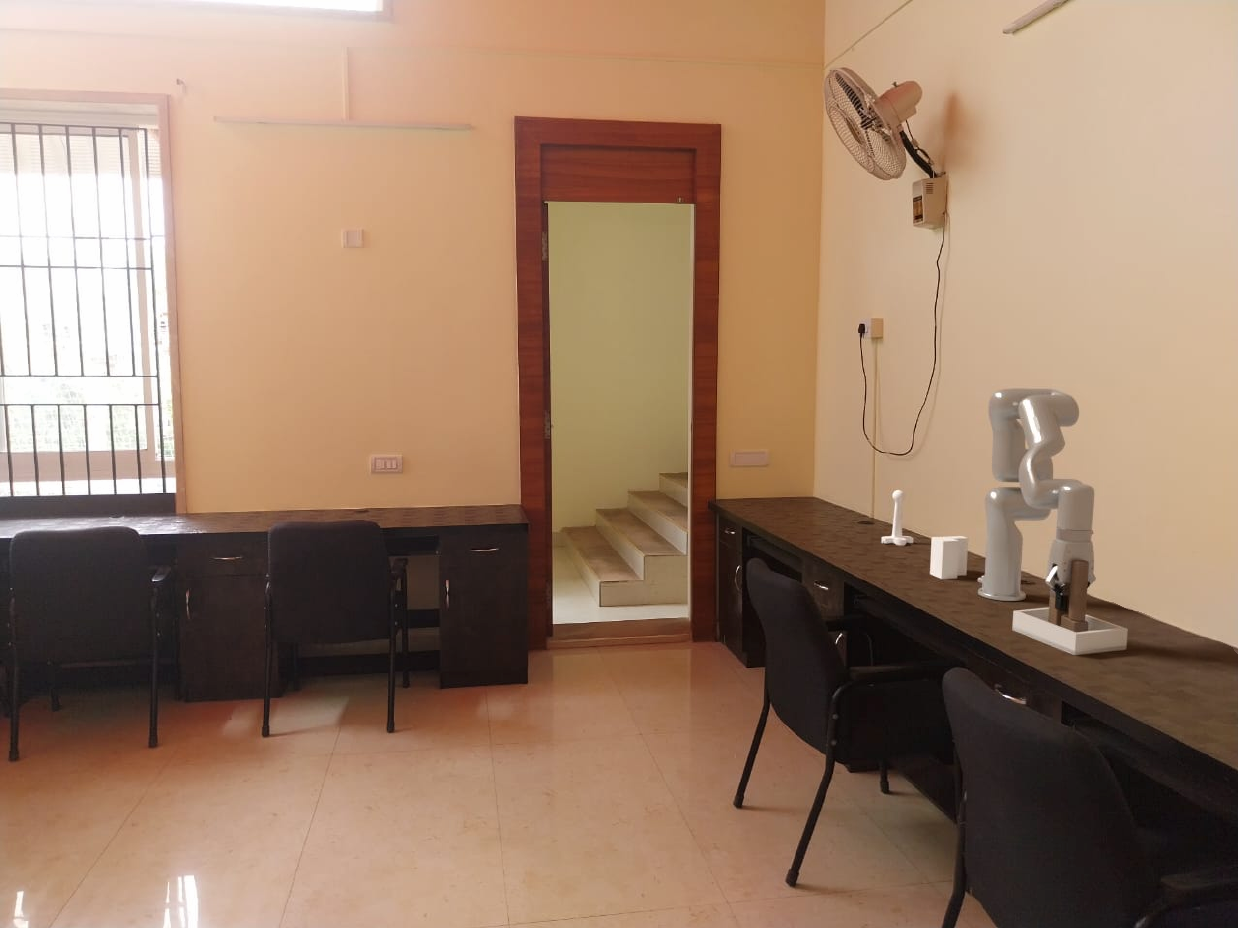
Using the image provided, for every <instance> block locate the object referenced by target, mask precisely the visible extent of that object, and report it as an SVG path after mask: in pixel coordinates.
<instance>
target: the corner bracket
mask: <svg viewBox="0 0 1238 928" xmlns="http://www.w3.org/2000/svg"><path fill="white" fill-rule="evenodd" d="M968 545H969V537H966V536H963V535H955V536H953V535H952V536H950V535H949V536H932V537H931V545H930V566H929V567H930V568H929V575H931V576H932V577H933V576H934V577H936V578H938V579H940V580H950V579H951V580H953V579H958V576H967V572H968V571H967V569H968V568H967V567H968V566H967V565H968V551H969V550H968V548H969V547H968Z"/></svg>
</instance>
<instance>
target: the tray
mask: <svg viewBox="0 0 1238 928" xmlns="http://www.w3.org/2000/svg"><path fill="white" fill-rule="evenodd" d="M1012 612H1013V613H1012V627H1011V630H1012V631H1013V632H1016V633H1019V634H1020V635H1023V636H1026V637H1029V638H1031V639H1033V640H1036V641H1038V642H1040V643H1044V644H1046V645H1048V646H1049V647H1050V646H1051V647H1053V648H1056V649H1057V650H1060V651H1062V652H1064V653H1065V652H1066V653H1068V654H1070V655H1073V656H1081V655H1091V654H1097V653H1098V654H1100V653H1106V652H1107V653H1108V652H1115V651H1116V652H1117V651H1124V650H1127V644H1128V632H1129V631H1128V628H1126V627H1123V626H1121V625H1118V624H1115V623H1111V622H1109V621H1106V620H1104V619H1101V618H1098V617H1095V616H1091V615H1089V614H1086V616H1085V621H1087V622H1088V623H1089V624H1088V631H1087V632H1077V633H1076V632H1073V631H1070V630H1068V629H1065V628H1062V627H1060V626H1057V625H1054V624H1052V623H1049V622H1048V616H1049V606H1048V607H1037V608H1029V609H1028V608H1027V609H1020V610H1013V611H1012Z"/></svg>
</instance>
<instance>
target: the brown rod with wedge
mask: <svg viewBox="0 0 1238 928" xmlns="http://www.w3.org/2000/svg"><path fill="white" fill-rule="evenodd" d="M1088 572H1089V562H1088V561H1086V560H1073V561H1072V572H1071V583H1068V587H1067V591H1066V595H1067V596H1068V602H1067V611H1066V612H1063V611H1060V610H1057V609H1055V597H1056V593H1054V592H1053V589H1052V588H1051V587H1050V586H1049V603H1048V607H1049V616H1048V622H1049V623H1052V624H1054V625H1057V626H1060V627H1062V628H1065V629H1068V630H1070V631H1073V632H1076V633H1077V632H1087V631H1088V624H1089V623H1088V622H1087V621H1085V616H1086V615H1087V614H1086V612H1087V601H1088V600H1087V599H1088V598H1087V597H1088V589H1087V587H1088ZM1055 581H1056V580H1055ZM1062 585H1063V584H1060V587H1061V588H1062ZM1088 588H1089V587H1088Z"/></svg>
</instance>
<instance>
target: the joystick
mask: <svg viewBox="0 0 1238 928" xmlns="http://www.w3.org/2000/svg"><path fill="white" fill-rule="evenodd" d="M891 497H892V499H893V501H894V511H893V520H892V529H891V530H892V532H891V535H889V536H886V535H885V536H881V544H895V546H899V547H901V546H902V547H905V545H907V544H914V537H912V536H908V535H907V536H906V535H903V514H902V513H903V509H902V507H903V506H902V504H903V501H904V500H905V497H906V494H905V492H904V491H903V490H900V489H897V490H894V492H892V496H891Z"/></svg>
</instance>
